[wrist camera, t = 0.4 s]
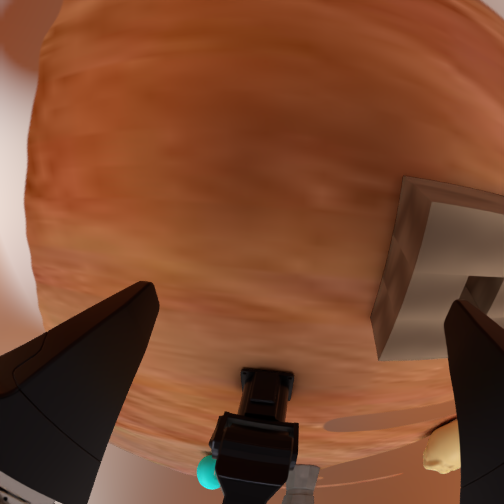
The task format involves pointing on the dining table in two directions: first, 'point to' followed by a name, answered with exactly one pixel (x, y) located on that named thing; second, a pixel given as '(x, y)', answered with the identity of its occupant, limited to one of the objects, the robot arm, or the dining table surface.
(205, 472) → the donuts
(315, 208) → the dining table surface
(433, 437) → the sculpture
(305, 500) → the coffeepot
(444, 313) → the block
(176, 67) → the dining table surface
